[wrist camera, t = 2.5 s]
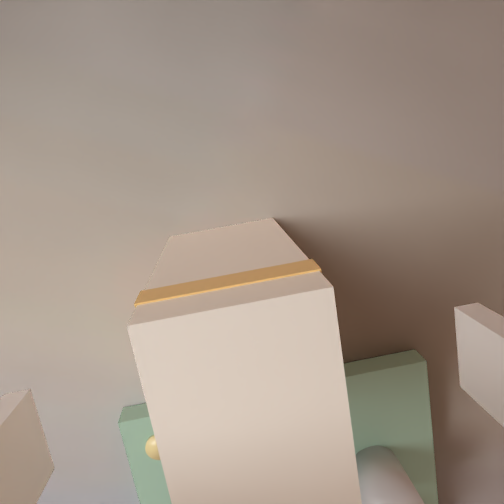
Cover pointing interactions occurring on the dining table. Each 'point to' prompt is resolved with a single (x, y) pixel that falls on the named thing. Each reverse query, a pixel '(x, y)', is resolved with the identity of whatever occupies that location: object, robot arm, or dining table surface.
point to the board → (363, 427)
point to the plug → (245, 371)
